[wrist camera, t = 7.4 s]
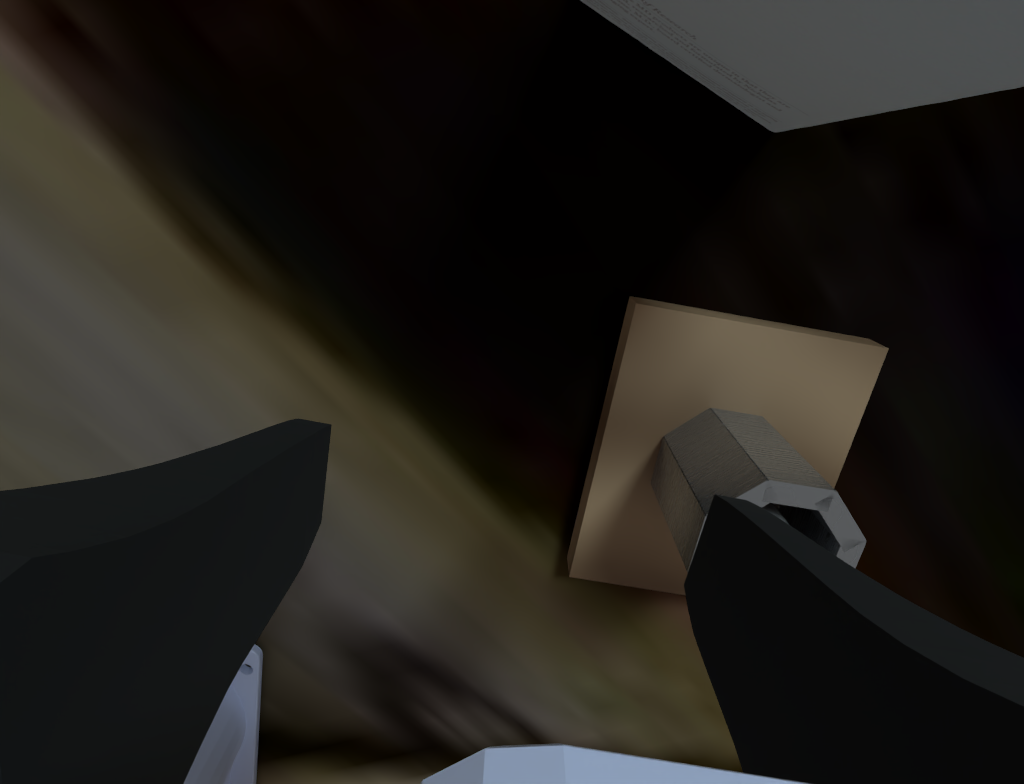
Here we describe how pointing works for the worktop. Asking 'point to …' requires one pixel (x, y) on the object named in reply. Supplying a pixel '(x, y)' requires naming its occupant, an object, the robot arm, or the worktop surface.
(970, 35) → the supplement box
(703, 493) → the tube
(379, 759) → the worktop surface
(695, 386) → the shaft block
